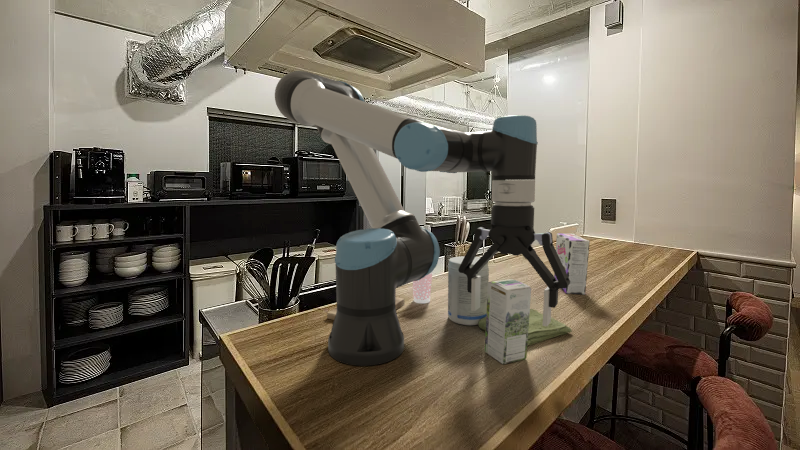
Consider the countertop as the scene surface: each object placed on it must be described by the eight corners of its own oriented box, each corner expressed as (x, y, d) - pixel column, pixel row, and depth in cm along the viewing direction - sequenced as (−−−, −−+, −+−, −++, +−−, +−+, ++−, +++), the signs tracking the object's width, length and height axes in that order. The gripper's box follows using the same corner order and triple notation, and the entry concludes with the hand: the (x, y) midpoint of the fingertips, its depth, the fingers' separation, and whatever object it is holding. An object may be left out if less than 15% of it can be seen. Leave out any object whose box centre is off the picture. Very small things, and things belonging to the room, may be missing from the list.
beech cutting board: (369, 327, 84) (369, 321, 83) (327, 318, 89) (327, 312, 89) (404, 304, 100) (404, 298, 99) (366, 297, 105) (366, 292, 105)
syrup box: (507, 346, 75) (510, 277, 73) (528, 360, 69) (531, 285, 67) (484, 352, 72) (486, 280, 71) (503, 366, 67) (507, 289, 65)
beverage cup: (413, 296, 106) (414, 248, 104) (434, 298, 105) (435, 249, 103) (408, 303, 100) (409, 252, 99) (430, 305, 99) (431, 254, 97)
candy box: (553, 281, 123) (556, 232, 121) (571, 282, 122) (574, 233, 120) (565, 293, 109) (569, 239, 107) (586, 294, 109) (590, 240, 107)
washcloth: (574, 335, 81) (575, 321, 81) (515, 352, 73) (516, 337, 73) (529, 315, 93) (529, 303, 92) (473, 328, 85) (474, 315, 84)
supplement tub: (495, 319, 89) (497, 260, 87) (472, 330, 83) (474, 266, 81) (462, 309, 96) (464, 254, 94) (439, 318, 90) (440, 259, 88)
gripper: (442, 203, 71) (441, 308, 74) (584, 207, 57) (577, 338, 59) (459, 201, 77) (458, 298, 80) (591, 205, 63) (585, 323, 66)
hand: (509, 316), depth 70 cm, fingers open, 13 cm apart
